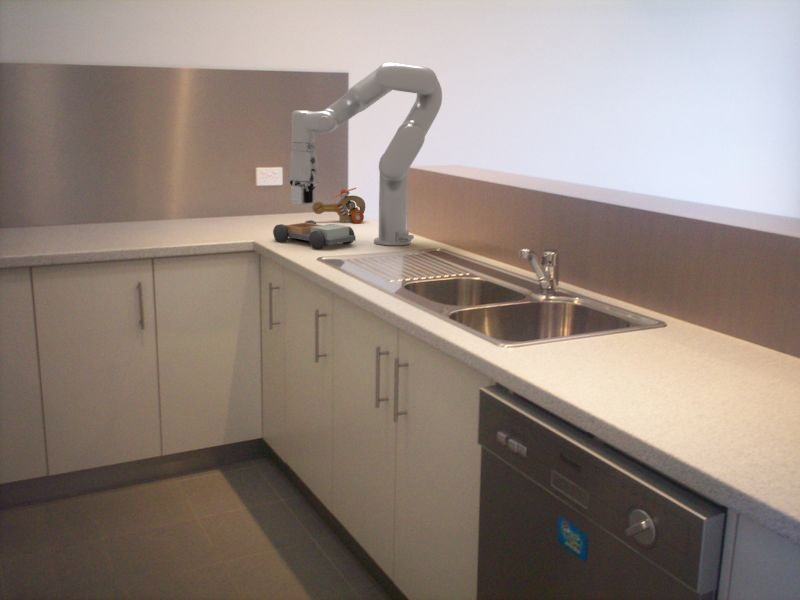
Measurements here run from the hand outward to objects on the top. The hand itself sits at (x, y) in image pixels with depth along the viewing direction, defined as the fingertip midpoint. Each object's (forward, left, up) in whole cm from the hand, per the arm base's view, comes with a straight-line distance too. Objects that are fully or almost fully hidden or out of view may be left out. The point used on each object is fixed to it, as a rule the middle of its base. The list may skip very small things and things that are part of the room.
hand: (302, 201), depth 300 cm
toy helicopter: (+22, -40, -14) cm, 48 cm away
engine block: (0, 0, -1) cm, 1 cm away
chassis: (-5, 0, -14) cm, 15 cm away
